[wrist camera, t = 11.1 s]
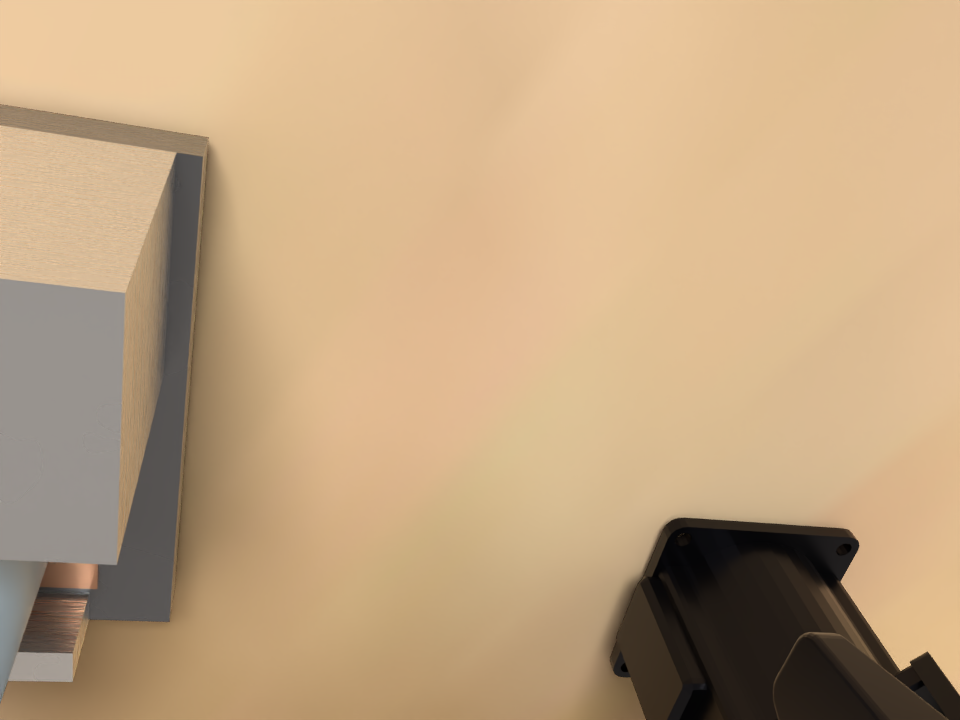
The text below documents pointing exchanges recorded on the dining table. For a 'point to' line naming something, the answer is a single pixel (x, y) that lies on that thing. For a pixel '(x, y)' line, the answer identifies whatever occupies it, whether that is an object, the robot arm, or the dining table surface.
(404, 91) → the dining table surface
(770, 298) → the dining table surface
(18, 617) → the grey round-ended capsule
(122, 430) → the motor mount
